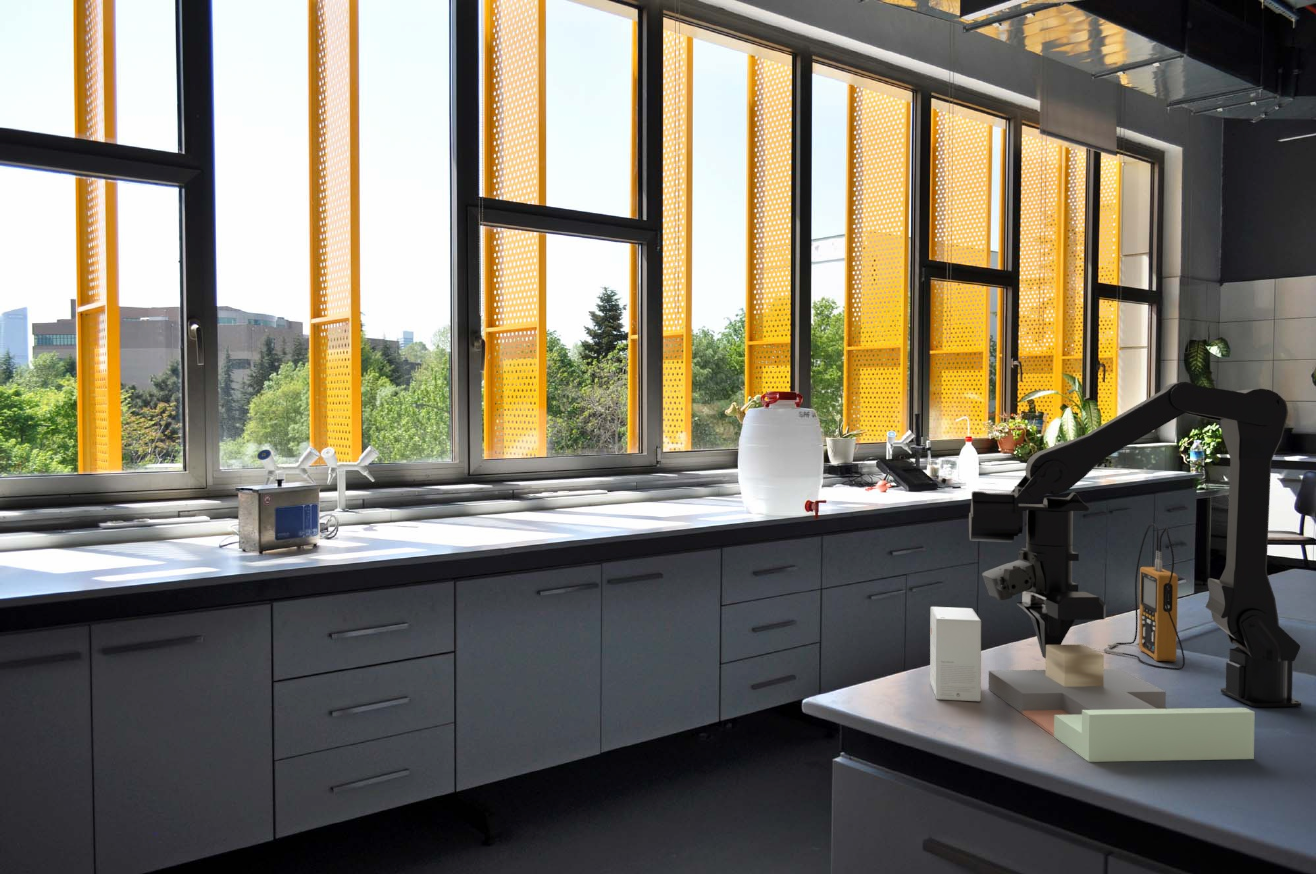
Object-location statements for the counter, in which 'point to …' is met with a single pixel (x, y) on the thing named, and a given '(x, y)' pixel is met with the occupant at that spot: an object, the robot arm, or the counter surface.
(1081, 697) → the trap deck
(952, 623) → the small box
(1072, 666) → the birch block
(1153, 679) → the counter surface
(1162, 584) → the multimeter
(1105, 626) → the counter surface
